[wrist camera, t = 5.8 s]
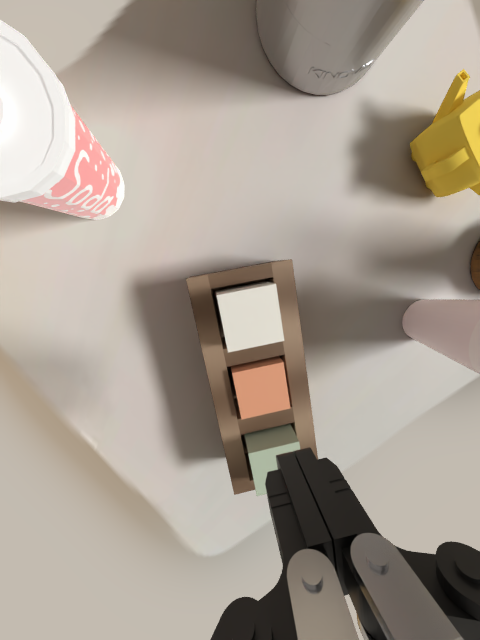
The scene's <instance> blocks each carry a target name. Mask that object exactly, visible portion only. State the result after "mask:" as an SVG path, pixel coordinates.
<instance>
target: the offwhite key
mask: <svg viewBox="0 0 480 640" xmlns="http://www.w3.org/2000/svg"><path fill="white" fill-rule="evenodd" d="M216 295H217V300H218V305H219V310H220V315H221V320H222V325H223V330H224V335H225V340H226V345H227V350H228V353H229V352H233V351H238V350H243V349H248V348H252V347H257V346H262V345H267V344H272V343H276V342H281V341H284V335H283V328H282V321H281V314H280V307H279V300H278V294H277V287H276V284H275V283H271V282H267V281H264V282H259V283H254V284H248V285H243V286H238V287H233V288H228V289H222V290H217V291H216Z"/></svg>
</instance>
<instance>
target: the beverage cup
mask: <svg viewBox="0 0 480 640" xmlns="http://www.w3.org/2000/svg"><path fill="white" fill-rule="evenodd" d="M123 199H124V182H123V179H122V176H121V173H120V171H119V169H118V168H117V167H116V165H115V164H114V163H113V161H112V160H111V159H110V157H109V156H108V155H107V153H106V152H105V151H104V149H103V148H102V147H101V145H100V144H99V142H98V141H97V140H96V138H95V137H94V136H93V134H92V133H91V132H90V130H89V129H88V128H87V126H86V125H85V124H84V122H83V121H82V120H81V118H80V117H79V116H78V114H77V113H76V112H75V110H74V109H73V108H72V106H71V105H70V103H69V100H68V97H67V95H66V92H65V89H64V86H63V84H62V83H61V82H60V80H59V79H58V78H57V77H56V74H55V73H54V72H53V71H52V69H51V68H50V67H49V66H48V64H47V63H46V62H45V61H44V59H43V58H42V57H41V56H40V54H39V53H38V52H37V51H36V49H35V48H34V47H33V46H32V44H31V43H30V42H29V40H28V39H27V38H26V37H25V36H24V35H23V34H21V33H20V32H18V31H17V30H15V29H14V28H12V27H11V26H9V25H8V24H6V23H5V22H3V21H1V20H0V200H1V201H8V202H18V201H20V202H24V203H28V204H32V205H36V206H39V207H43V208H47V209H51V210H55V211H59V212H62V213H66V214H70V215H74V216H78V217H81V218H86V219H93V220H99V219H103V218H107V217H110V216H111V215H112V214H113V213H114V212H116V211H117V210H118V209H119V207H120V205H121V203H122V201H123Z"/></svg>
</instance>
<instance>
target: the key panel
mask: <svg viewBox="0 0 480 640" xmlns="http://www.w3.org/2000/svg"><path fill="white" fill-rule="evenodd" d="M264 281H267V282H271V283H275V284H276V287H277V294H278V300H279V307H280V314H281V321H282V328H283V335H284V341H281V342H276V343H272V344H267V345H262V346H257V347H252V348H248V349H243V350H238V351H233V352H229V353H228V350H227V345H226V340H225V335H224V330H223V325H222V320H221V315H220V310H219V305H218V300H217V295H216V291H217V290H222V289H228V288H233V287H238V286H243V285H248V284H254V283H259V282H264ZM186 282H187V286H188V290H189V295H190V299H191V304H192V308H193V313H194V317H195V322H196V326H197V330H198V335H199V339H200V344H201V348H202V353H203V357H204V362H205V366H206V370H207V375H208V379H209V384H210V388H211V393H212V397H213V402H214V406H215V410H216V415H217V419H218V424H219V428H220V433H221V437H222V442H223V446H224V450H225V455H226V459H227V464H228V468H229V473H230V477H231V482H232V486H233V490H234V495H235V494H239V493H243V492H247V491H251V490H255V484H254V479H253V474H252V469H251V464H250V459H249V454H248V449H247V444H246V439H245V434H246V433H250V432H255V431H259V430H263V429H267V428H272V427H276V426H280V425H284V424H289V423H290V424H291V426H292V428H293V430H294V432H295V434H296V436H297V438H298V440H299V444H300V449H304V448H308V447H310V448H311V449H312V451H313V453H314V455H315V456H316V458H317V460H318V456H317V448H316V441H315V433H314V425H313V418H312V410H311V402H310V394H309V387H308V379H307V371H306V363H305V356H304V348H303V340H302V333H301V325H300V317H299V309H298V302H297V294H296V286H295V278H294V271H293V263H292V259H290V260H280V261H273V262H268V263H263V264H257V265H252V266H246V267H241V268H236V269H230V270H225V271H220V272H214V273H209V274H203V275H198V276H193V277H189V278H187V279H186ZM275 356H279V357H280V358H281V359H282V361H283V362H284V369H285V375H286V382H287V388H288V395H289V402H290V409H286V410H281V411H277V412H272V413H268V414H264V415H259V416H255V417H251V418H246V419H242V420H241V415H240V410H239V405H238V400H237V395H236V390H235V385H234V380H233V375H232V370H231V366H233V365H238V364H242V363H247V362H252V361H256V360H261V359H266V358H270V357H275Z"/></svg>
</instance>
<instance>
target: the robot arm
mask: <svg viewBox="0 0 480 640" xmlns="http://www.w3.org/2000/svg"><path fill="white" fill-rule="evenodd" d="M423 1H424V0H257V4H256V18H257V26H258V33H259V36H260V40H261V43H262V46H263V49H264V51H265V53H266V55H267V57H268V59H269V61H270V63H271V64H272V66H273V67H274V68H275V70H276V71H277V72H278V74H279V75H280V76H281V77H282V78H283V79H285V80H286V81H287V82H288V83H289V84H290V85H292V86H294V87H296V88H297V89H299V90H301V91H303V92H307V93H311V94H315V95H330V94H333V93H337V92H341V91H343V90H345V89H347V88H348V87H350V86H352V85H354V84H355V83H356V82H357V81H358V80H359V79H360V78H361V77H363V76H364V75H365V73H366V72H367V71H368V69H369V68H370V67H371V66H372V64H373V63H374V62H375V61H376V59H377V58H378V57H379V56H380V54H381V53H382V52H383V51H384V49H385V48H386V47H387V46H388V44H389V43H390V42H391V41H392V39H393V38H394V37H395V36H396V34H397V33H398V32H399V31H400V29H401V28H402V27H403V26H404V24H405V23H406V22H407V21H408V20H409V18H410V17H411V16H412V15H413V13H414V12H415V11H416V10H417V8H418V7H419V6H420V5H421V3H422V2H423ZM276 461H277V467H278V470H274V471H269V472H267V477H266V482H265V486H266V491H267V497H268V502H269V507H270V513H271V517H272V521H273V525H274V529H275V534H276V538H277V542H278V546H279V551H280V555H281V559H282V563H283V570H282V574H281V576H280V579H279V581H278V583H277V585H276V586H275V587H274V588H273V589H272V590H271V591H270V592H269V593H268V594H266V596H264V597H263V598H261V599H260V600H259V601H257V600H255V599H253V598H250V597H242V598H238V599H236V600H235V601H233V602H232V603H231V604H230V605H229V606H228V607H227V608H226V609H225V611H224V613H223V614H222V616H221V618H220V621H219V623H218V625H217V627H216V629H215V631H214V634H213V635H212V638H211V640H359V638H358V635H357V632H356V629H355V627H354V623H353V621H352V618H351V615H350V612H349V609H348V606H347V603H346V600H345V597H344V595H348V594H349V595H350V597H351V600H352V602H353V605H354V607H355V610H356V613H357V621H358V625H359V629H360V631H361V633H362V636H363V638H364V640H480V551H478V550H476V549H474V548H472V547H470V546H467V545H465V544H462V543H458V542H445V543H443V544H441V545H440V546H439V547H438V548H437V551H436V554H427V553H418V552H411V551H406V550H403V549H401V548H398V547H396V546H395V545H393V544H392V543H391V542H390V541H388V540H387V539H386V538H384V537H383V536H382V535H381V534H380V533H379V532H378V531H377V529H376V528H375V526H374V524H373V523H372V521H371V520H370V518H369V517H368V515H367V513H366V512H365V510H364V509H363V507H362V505H361V504H360V502H359V501H358V499H357V497H356V496H355V494H354V493H353V491H352V490H351V488H350V486H349V485H348V483H347V481H346V480H345V479H344V477H343V475H342V473H341V472H340V470H339V469H338V467H337V466H336V465H335V464H334V463H332V462H331V461H330V460H329V459H327V458H323V459H318V460H317V458H316V456H315V455H314V453H313V451H312V449H311V448H310V447H308V448H304V449H299V450H295V451H293V452H287V453H283V454H279V455H276Z"/></svg>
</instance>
